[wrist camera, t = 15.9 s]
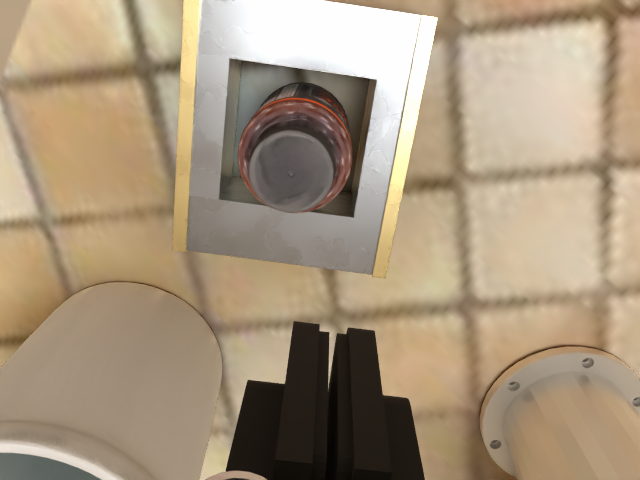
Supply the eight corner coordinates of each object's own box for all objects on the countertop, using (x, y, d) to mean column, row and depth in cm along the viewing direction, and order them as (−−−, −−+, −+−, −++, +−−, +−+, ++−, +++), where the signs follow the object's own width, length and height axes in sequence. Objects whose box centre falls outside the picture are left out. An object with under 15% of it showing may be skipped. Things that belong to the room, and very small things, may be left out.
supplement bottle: (367, 136, 37) (382, 186, 27) (295, 190, 39) (283, 258, 28) (309, 60, 36) (302, 82, 25) (237, 119, 37) (201, 164, 27)
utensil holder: (245, 289, 42) (191, 470, 25) (223, 450, 47) (167, 683, 31) (38, 256, 41) (-153, 420, 25) (40, 423, 46) (-115, 647, 30)
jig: (378, 245, 40) (385, 278, 35) (191, 220, 40) (172, 250, 35) (422, 16, 35) (437, 17, 30) (205, -17, 34) (184, -21, 29)
